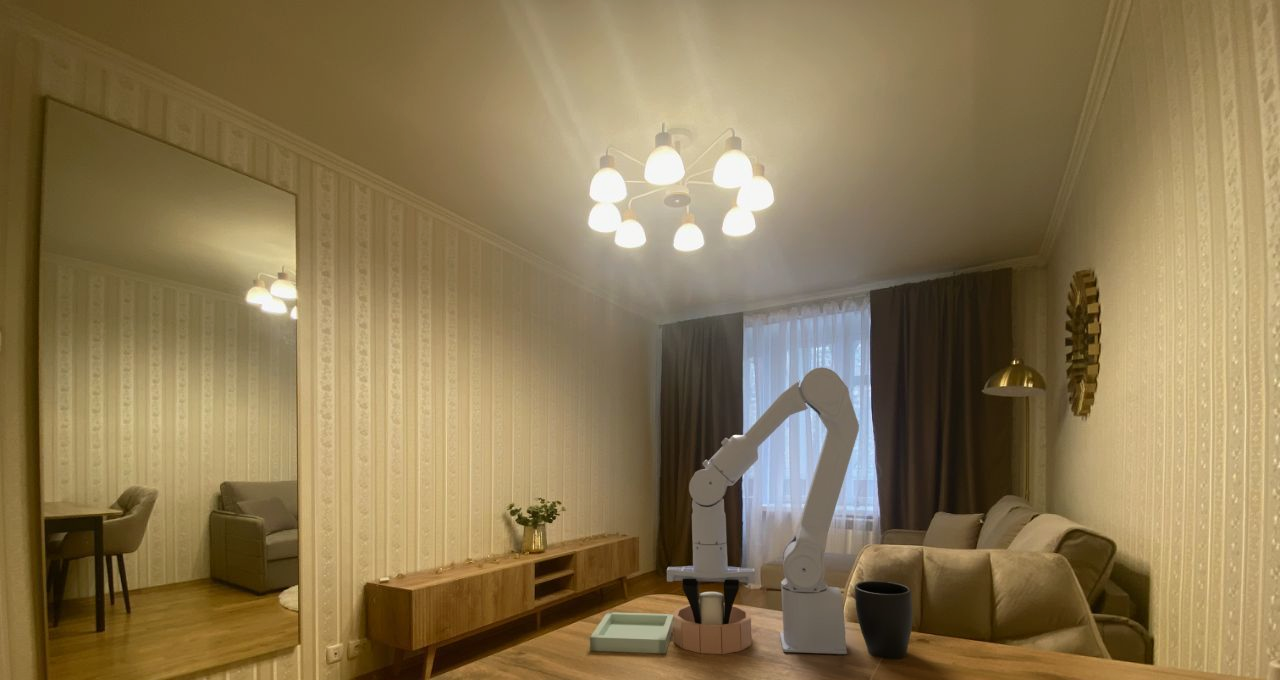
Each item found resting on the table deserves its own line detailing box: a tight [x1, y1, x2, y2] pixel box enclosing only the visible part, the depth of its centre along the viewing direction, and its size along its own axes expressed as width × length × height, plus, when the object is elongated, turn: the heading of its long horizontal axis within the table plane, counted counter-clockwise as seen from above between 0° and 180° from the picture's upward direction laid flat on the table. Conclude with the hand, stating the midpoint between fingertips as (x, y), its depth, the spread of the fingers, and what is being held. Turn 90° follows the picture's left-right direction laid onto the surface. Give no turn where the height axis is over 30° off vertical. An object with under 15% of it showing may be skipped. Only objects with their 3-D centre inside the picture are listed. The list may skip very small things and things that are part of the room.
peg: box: [699, 591, 724, 625], centre depth 100 cm, size 4×4×7 cm
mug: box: [854, 579, 914, 660], centre depth 95 cm, size 8×12×10 cm
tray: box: [589, 611, 674, 654], centre depth 101 cm, size 12×13×2 cm
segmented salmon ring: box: [672, 604, 753, 655], centre depth 100 cm, size 13×13×4 cm
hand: (712, 627), depth 100 cm, fingers closed on peg, 4 cm apart
